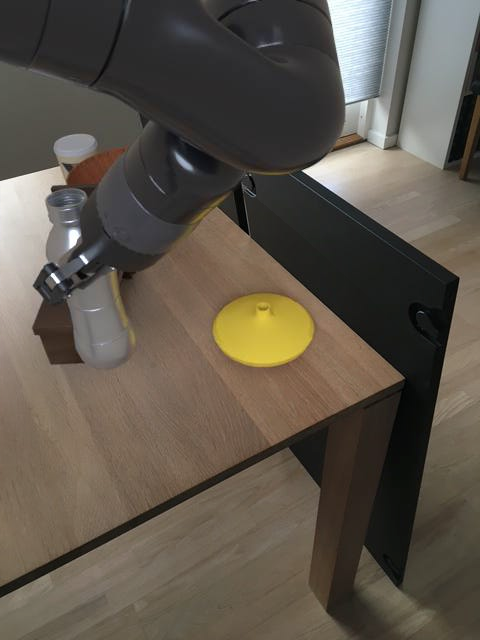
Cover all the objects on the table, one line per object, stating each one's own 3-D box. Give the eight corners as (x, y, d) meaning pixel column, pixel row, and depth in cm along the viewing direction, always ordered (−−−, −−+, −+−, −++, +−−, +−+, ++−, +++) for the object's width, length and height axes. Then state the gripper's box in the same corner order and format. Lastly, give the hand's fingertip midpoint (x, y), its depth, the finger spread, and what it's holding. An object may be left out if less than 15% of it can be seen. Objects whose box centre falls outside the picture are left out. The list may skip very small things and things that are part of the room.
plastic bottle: (108, 329, 64) (65, 174, 51) (151, 349, 61) (118, 191, 48) (68, 363, 60) (11, 204, 47) (113, 386, 57) (65, 224, 44)
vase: (235, 390, 78) (232, 356, 73) (200, 323, 89) (196, 290, 84) (331, 358, 82) (335, 324, 77) (287, 298, 93) (287, 265, 88)
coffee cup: (70, 206, 120) (56, 154, 112) (63, 187, 126) (49, 138, 118) (111, 196, 122) (100, 146, 114) (102, 179, 129) (91, 130, 121)
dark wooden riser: (117, 362, 83) (92, 268, 71) (47, 366, 83) (9, 272, 71) (136, 270, 101) (118, 182, 89) (78, 272, 101) (52, 185, 89)
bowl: (218, 235, 109) (214, 183, 101) (97, 271, 101) (83, 218, 93) (174, 183, 126) (167, 136, 118) (67, 211, 118) (53, 162, 110)
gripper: (176, 134, 45) (106, 218, 59) (37, 207, 37) (-7, 286, 50) (229, 207, 46) (149, 273, 60) (107, 295, 38) (45, 349, 51)
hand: (78, 279), depth 55 cm, fingers closed on plastic bottle, 6 cm apart
